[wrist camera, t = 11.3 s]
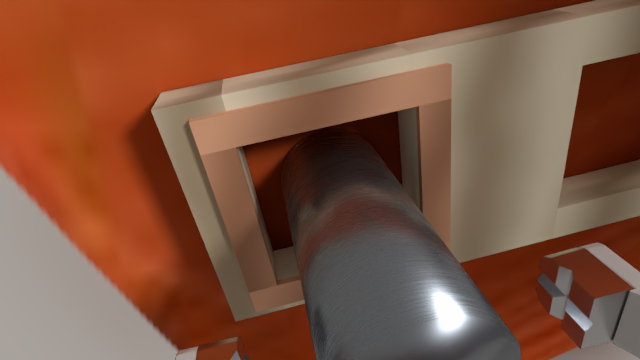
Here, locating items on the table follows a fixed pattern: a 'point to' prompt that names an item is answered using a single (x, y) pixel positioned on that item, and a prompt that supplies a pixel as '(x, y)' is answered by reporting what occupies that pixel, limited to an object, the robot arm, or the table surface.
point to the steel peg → (378, 263)
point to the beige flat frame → (413, 139)
